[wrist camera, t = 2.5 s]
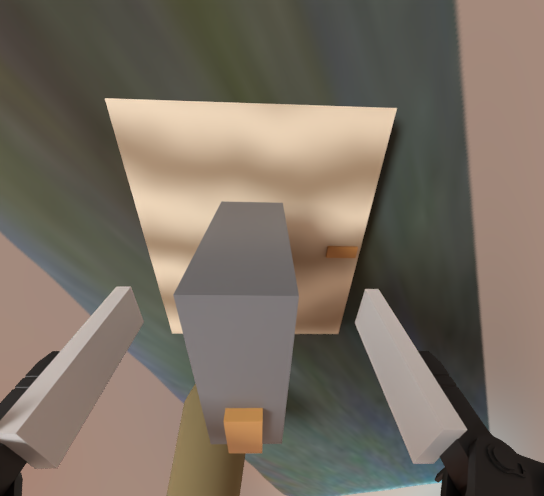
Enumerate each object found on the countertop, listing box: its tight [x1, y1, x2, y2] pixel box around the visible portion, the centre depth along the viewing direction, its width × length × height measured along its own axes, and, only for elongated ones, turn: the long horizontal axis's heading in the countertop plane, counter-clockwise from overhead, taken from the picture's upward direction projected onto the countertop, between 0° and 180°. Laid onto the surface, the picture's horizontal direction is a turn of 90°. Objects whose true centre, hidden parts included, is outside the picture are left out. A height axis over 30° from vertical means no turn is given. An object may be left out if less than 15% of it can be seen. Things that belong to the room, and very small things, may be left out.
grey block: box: [173, 201, 299, 453], centre depth 12 cm, size 10×4×8 cm, turn 178°
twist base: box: [105, 98, 397, 334], centre depth 18 cm, size 20×17×4 cm
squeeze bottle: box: [167, 384, 245, 496], centre depth 23 cm, size 8×8×18 cm
